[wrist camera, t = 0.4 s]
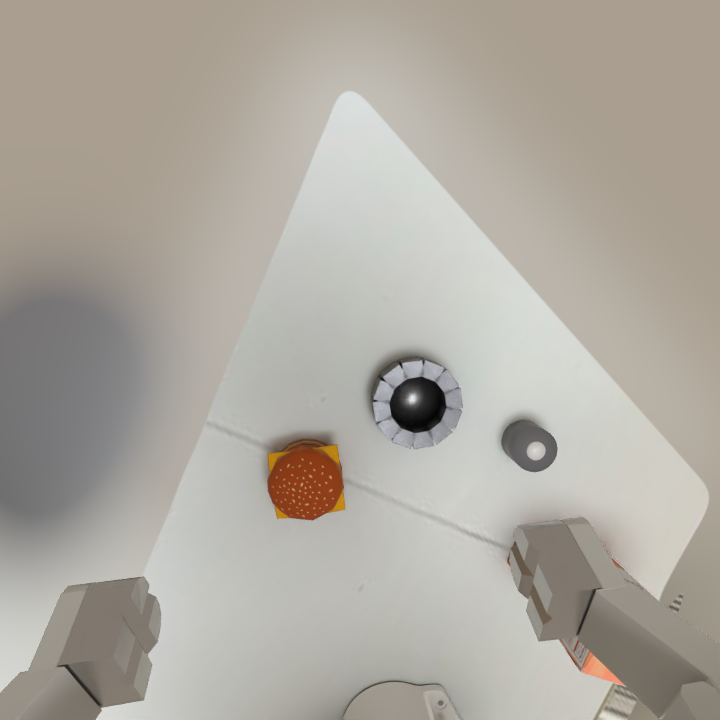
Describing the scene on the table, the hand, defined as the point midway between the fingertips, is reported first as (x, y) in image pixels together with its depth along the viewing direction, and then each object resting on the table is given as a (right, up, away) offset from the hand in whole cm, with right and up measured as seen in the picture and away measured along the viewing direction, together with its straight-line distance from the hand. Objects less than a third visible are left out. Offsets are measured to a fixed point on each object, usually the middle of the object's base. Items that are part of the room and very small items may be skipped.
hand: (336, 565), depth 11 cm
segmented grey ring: (+8, -1, +53) cm, 53 cm away
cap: (+22, -6, +55) cm, 59 cm away
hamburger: (-6, -10, +54) cm, 55 cm away
